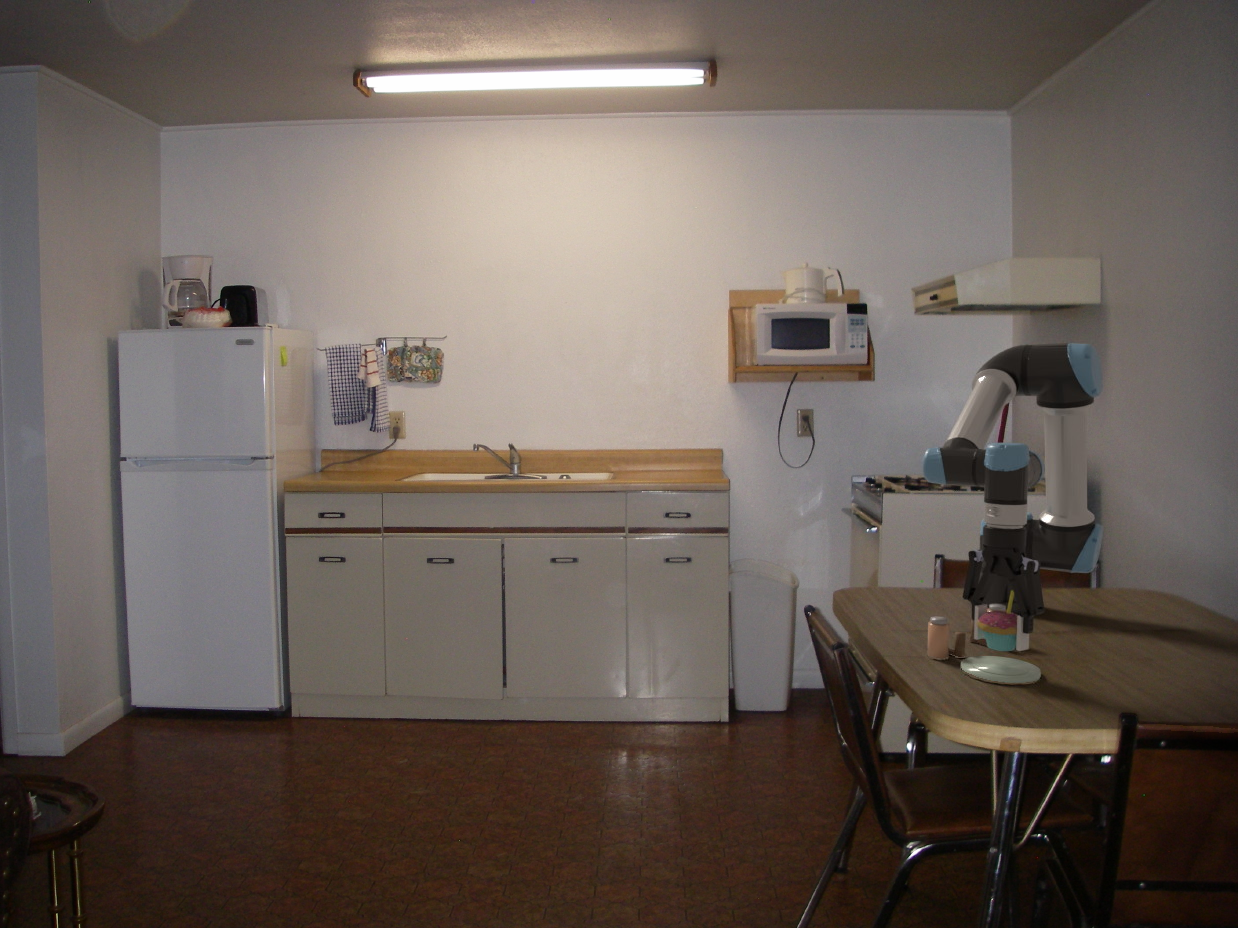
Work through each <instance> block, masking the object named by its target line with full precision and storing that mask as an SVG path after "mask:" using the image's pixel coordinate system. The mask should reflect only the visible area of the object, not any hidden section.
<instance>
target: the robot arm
mask: <svg viewBox="0 0 1238 928" xmlns="http://www.w3.org/2000/svg"><path fill="white" fill-rule="evenodd" d="M974 375H975V376H974V377H973V380H972V382H971V390H972V391H971V393H970V395H969V397H968V398H967V400H966V403H965V404H964V406H963V409H962V411H961V412H960V414H959V416H958V418H957V419H956V421H955V424H954V426H953V428H952V429H951V431H950V433H949V435H948V436H947V439H946V441H945V442H944V444H943V446H941V447H940V446H936V447H930V448H927V449H926V450H925V453H924V455H923V458H922V473H923V476H924V477H923V478H924V480H925V481H926V482H928V483H931V484H939V485H943V486H961V487H962V486H965V487H983V488H984V491H983V492H984V493H983V494H984V495H983V517H982V519H981V521H980V528H979V529H980V531H979V534H978V535H979V549H973V550H969V551H968V554H967V555H968V568H967V572H966V577H965V582H964V587H963V592H962V598H963V600H967V601H968V602H969V603H970V605H971V619H972V620H973V621H975V623H974V639H976V640H979V639H985V636H984V633H983V631H982V630H981V629H980V628H978V627H977V621H978V618H979V617H980V616H981V615H983V614H985V613H986V612H987V609H988V608H989V605H990V604H1002V605H1005V606H1006V610H1007V608H1008V603H1009V598H1010V593H1011V590H1013V591H1014V597H1013V602H1012V607H1011V613H1014V614H1017V615H1018V616H1017V643H1016V647H1015V650H1016V651H1018V652H1021V651H1026V650H1029V649H1030V634H1032V633H1033V632H1034V620H1035V618H1034V617H1035V616H1038V615H1042V614H1044V613H1045V605H1044V603H1045V602H1044V598H1043V597H1044V596H1043V589H1042V582H1041V576H1040V573H1041V572H1040V571H1041V570H1049V571H1058V572H1066V573H1070V574H1073V573H1077V574H1079V573H1081V574H1089V573H1092V571H1093V570H1095V567H1096V565H1097V563H1098V560H1099V556H1100V552H1101V548H1102V541H1103V537H1104V535H1103V534H1104V528H1103V525H1102V524H1100V523H1095V519H1096V518H1095V514H1093V512H1091V511H1090V510H1089V509H1088V476H1087V475H1088V472H1087V471H1088V466H1087V465H1088V463H1087V461H1088V458H1087V457H1088V456H1087V453H1088V451H1087V449H1088V448H1087V443H1088V442H1087V435H1088V434H1087V411H1088V409H1089V408H1091V406H1093V405H1094V403H1095V398H1096V397H1099V396H1100V395H1101V394H1102V391H1103V368H1102V363H1101V358H1100V356H1099V352H1098V351H1097V349H1096V347H1094V346H1093V345H1092V344H1089V343H1075V342H1066V343H1065V342H1064V343H1063V342H1062V343H1061V342H1060V343H1045V344H1039V343H1038V344H1020V345H1015V346H1011V347H1009V348H1007V349H1006V348H1005V349H1004V350H1002V351H1000V352H999V353H997V354H996V355H994V356H992V357H991V358H990V359H988V360H987V361H986V362H985V363H984V364H982V366H981V367H980V368H979V370H978V371H977V372H976V373H975V374H974ZM1022 396H1023V397H1025V396H1026V397H1035V398H1036V406H1037V407H1038V408H1039V409H1040V410H1041V411H1043V417H1044V418H1043V422H1044V423H1043V426H1044V459H1043V458H1042V456H1041V455H1039V454H1038V453H1037V452H1035V451H1033V450H1030V448H1029V446H1028V445H1027V444H1025V443H1022V442H1021V443H1020V442H992V443H989V444H988V440H989V439H990V436H991V435H992V433H993V431H994V429H995V427H996V425H997V423H998V421H999V418H1000V417H1001V415H1002V412H1003V410H1004V409H1005V406H1006V405H1008V404H1009V403H1011V402H1012V401H1013V400H1014V398H1015V397H1022ZM985 447H986V448H985ZM1044 475H1045V504H1046V505H1045V509H1044V510H1043V511H1042V512H1041V513H1039V516H1038V517H1039V519H1034V515H1033V513H1031V512H1028V493H1029V492H1028V491H1029V488H1033V487H1035V486H1036V485H1037V484H1038V483H1039V482H1040V481H1041V480H1042V479H1043V477H1044Z"/></svg>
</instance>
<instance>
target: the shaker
mask: <svg viewBox="0 0 1238 928" xmlns="http://www.w3.org/2000/svg"><path fill="white" fill-rule="evenodd" d="M949 644H950V623H949V622H948V618H947V617H944V616H930V620H929V621H928V622H927V653H926V654H927V655H928V656H931V657H936V658H946V657H948V658H949V649H950V646H949Z"/></svg>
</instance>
